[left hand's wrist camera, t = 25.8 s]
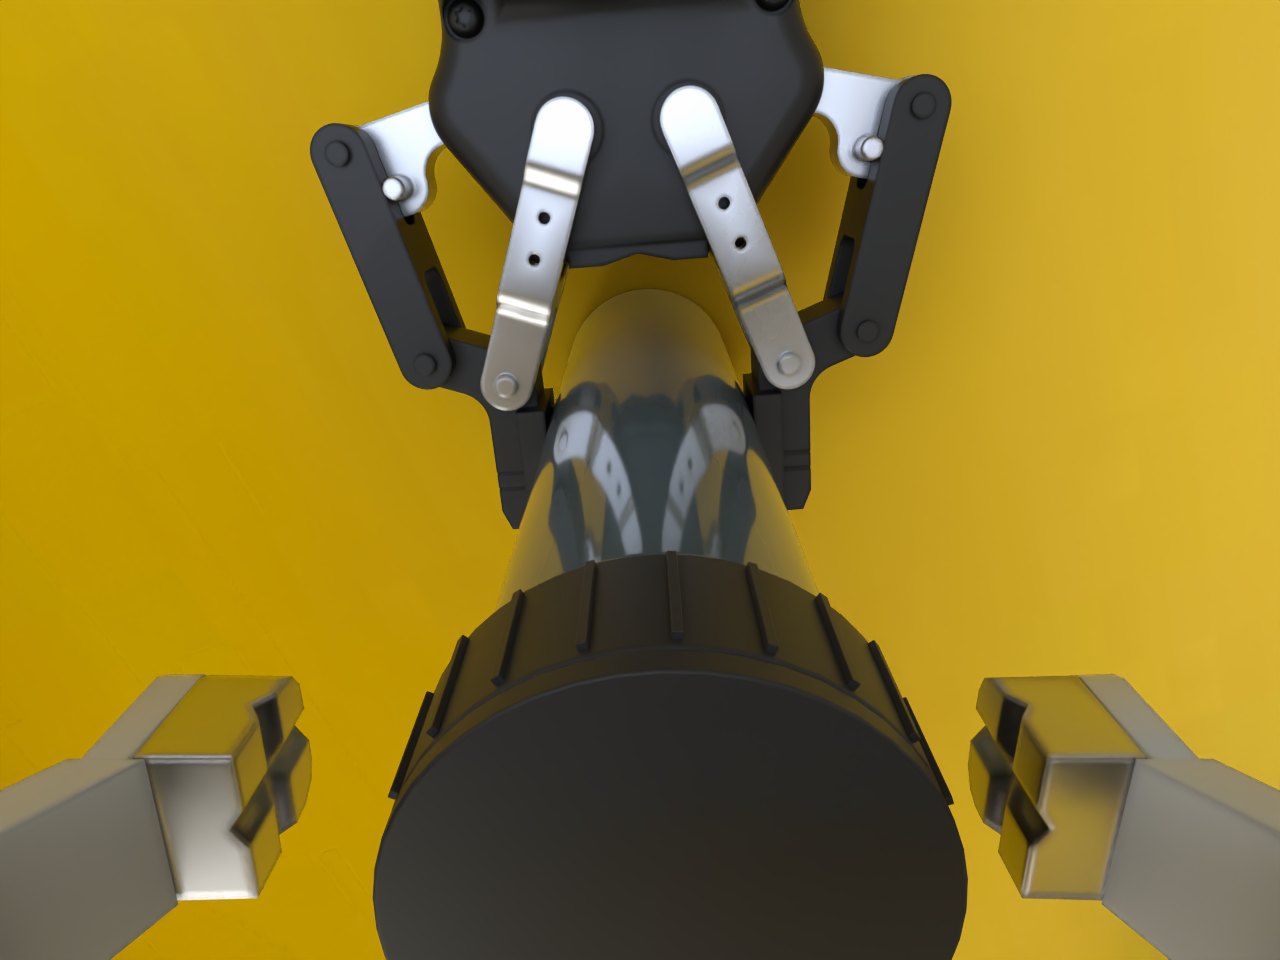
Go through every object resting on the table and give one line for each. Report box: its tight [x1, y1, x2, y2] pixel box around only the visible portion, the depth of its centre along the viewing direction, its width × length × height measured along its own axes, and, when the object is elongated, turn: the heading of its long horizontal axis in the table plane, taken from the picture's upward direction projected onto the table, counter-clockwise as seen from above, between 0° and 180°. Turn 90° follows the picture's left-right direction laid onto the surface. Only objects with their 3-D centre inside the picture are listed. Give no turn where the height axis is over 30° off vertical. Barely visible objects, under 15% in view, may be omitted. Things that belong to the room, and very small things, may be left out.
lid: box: [373, 551, 968, 960], centre depth 10 cm, size 6×6×2 cm
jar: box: [495, 289, 819, 612], centre depth 19 cm, size 5×5×20 cm
